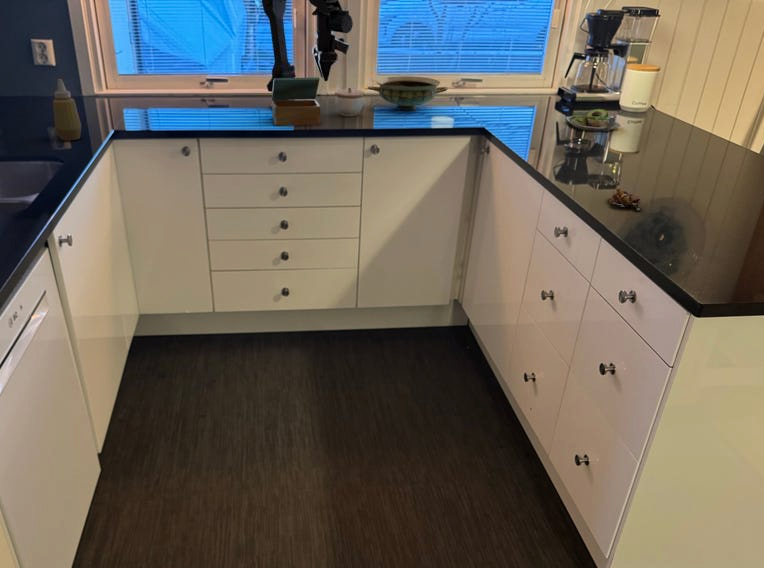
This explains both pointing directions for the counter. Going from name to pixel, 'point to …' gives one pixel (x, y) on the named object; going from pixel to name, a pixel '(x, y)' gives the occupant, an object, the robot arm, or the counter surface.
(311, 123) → the toy box
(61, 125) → the squeeze bottle
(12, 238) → the counter surface
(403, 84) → the ceramic bowl
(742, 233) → the counter surface
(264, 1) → the robot arm
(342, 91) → the trinket box
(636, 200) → the pastry
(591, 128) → the salad plate
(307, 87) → the lid
